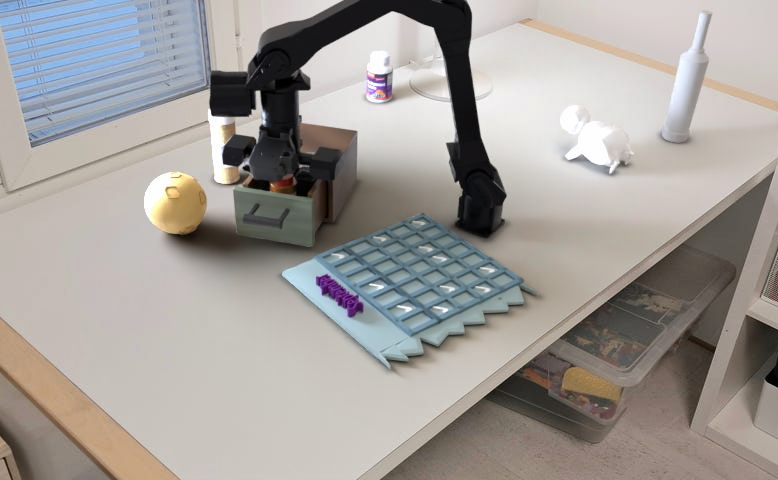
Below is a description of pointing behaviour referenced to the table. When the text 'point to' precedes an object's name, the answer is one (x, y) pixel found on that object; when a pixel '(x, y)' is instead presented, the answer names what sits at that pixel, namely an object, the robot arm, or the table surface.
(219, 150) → the sprinkles bottle
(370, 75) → the pill bottle
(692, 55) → the bottle
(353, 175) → the cabinet
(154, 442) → the table surface
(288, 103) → the robot arm
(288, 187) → the spice bottle
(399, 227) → the calendar
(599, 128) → the white animal figurine
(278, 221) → the drawer
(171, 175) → the stress ball
